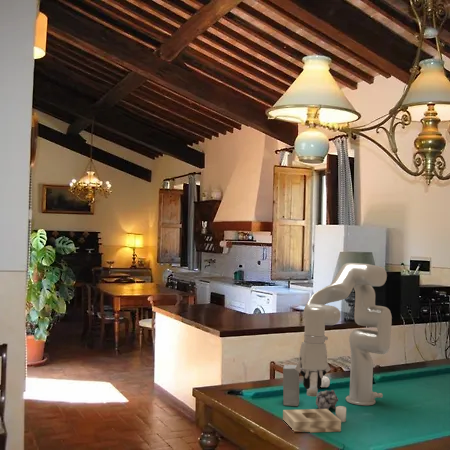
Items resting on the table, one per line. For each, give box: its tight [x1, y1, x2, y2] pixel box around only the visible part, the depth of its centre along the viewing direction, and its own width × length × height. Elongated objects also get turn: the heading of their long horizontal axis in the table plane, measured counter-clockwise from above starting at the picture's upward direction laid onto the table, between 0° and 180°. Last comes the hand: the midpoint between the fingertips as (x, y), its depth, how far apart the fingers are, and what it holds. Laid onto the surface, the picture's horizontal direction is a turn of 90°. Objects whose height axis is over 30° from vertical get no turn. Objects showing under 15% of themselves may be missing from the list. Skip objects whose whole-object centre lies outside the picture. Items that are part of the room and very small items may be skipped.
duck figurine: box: [316, 370, 331, 388], centre depth 274 cm, size 12×8×11 cm
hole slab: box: [282, 408, 342, 433], centre depth 219 cm, size 18×14×4 cm
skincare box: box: [282, 364, 300, 407], centre depth 247 cm, size 8×7×16 cm
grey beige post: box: [306, 370, 319, 397], centre depth 219 cm, size 4×4×9 cm
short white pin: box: [335, 405, 347, 423], centre depth 227 cm, size 4×4×5 cm
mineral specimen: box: [315, 389, 339, 410], centre depth 239 cm, size 12×9×10 cm
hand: (312, 387), depth 219 cm, fingers closed on grey beige post, 4 cm apart
